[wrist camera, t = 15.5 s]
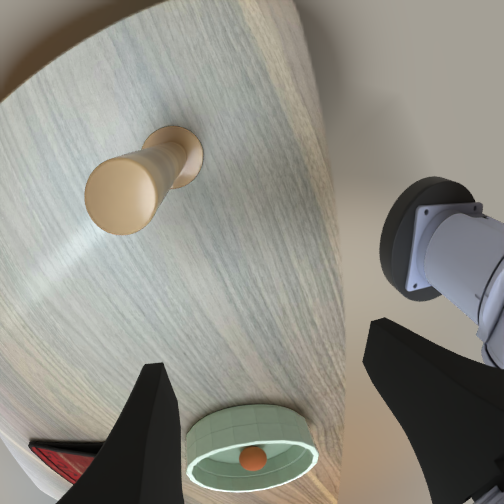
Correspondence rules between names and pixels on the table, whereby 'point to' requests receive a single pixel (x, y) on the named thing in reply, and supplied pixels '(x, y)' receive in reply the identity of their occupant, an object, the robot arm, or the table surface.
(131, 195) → the stick
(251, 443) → the mixing bowl
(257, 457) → the ball
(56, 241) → the table surface
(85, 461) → the notebook
